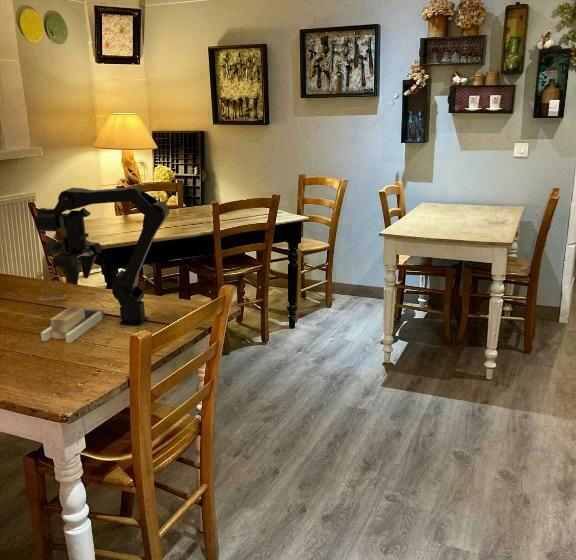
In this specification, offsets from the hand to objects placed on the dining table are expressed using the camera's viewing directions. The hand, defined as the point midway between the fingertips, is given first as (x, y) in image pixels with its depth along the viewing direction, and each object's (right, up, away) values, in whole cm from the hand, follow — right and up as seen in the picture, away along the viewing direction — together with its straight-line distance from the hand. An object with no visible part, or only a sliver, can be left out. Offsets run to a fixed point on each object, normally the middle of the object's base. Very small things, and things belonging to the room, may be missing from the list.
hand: (80, 281), depth 178 cm
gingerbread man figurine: (-18, -7, +23) cm, 30 cm away
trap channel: (-1, -14, -3) cm, 15 cm away
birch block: (-2, -15, -5) cm, 16 cm away
